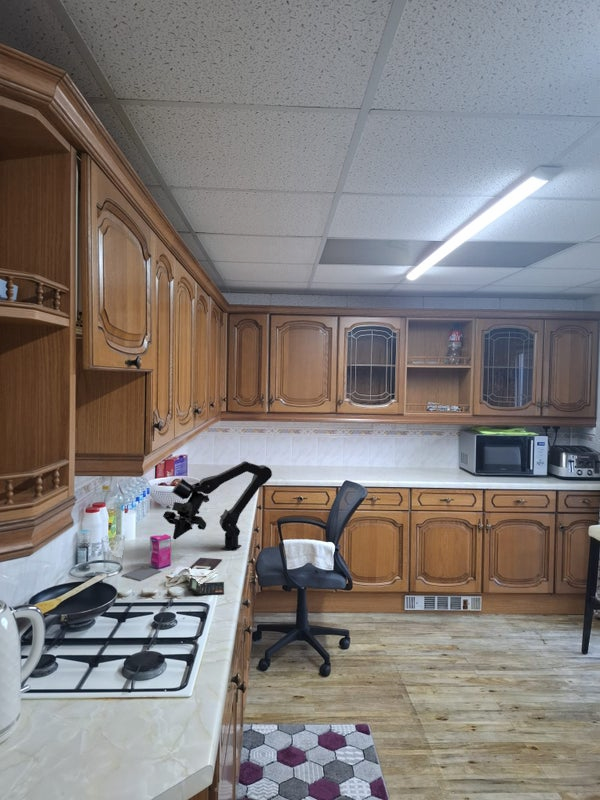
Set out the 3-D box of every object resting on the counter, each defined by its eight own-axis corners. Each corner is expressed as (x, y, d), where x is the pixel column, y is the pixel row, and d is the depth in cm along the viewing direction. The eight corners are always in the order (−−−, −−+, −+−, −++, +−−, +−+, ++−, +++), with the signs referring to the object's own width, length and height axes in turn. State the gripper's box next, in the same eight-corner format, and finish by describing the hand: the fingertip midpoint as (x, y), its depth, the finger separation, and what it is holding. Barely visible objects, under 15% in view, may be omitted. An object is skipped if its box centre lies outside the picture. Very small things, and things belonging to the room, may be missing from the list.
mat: (142, 567, 182) (142, 566, 182) (160, 571, 178) (160, 570, 178) (121, 576, 174) (121, 574, 174) (140, 580, 169) (140, 579, 169)
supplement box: (149, 566, 184) (149, 536, 184) (162, 562, 189) (162, 532, 188) (157, 569, 180) (158, 539, 180) (171, 565, 185) (171, 535, 185)
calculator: (223, 595, 159) (224, 586, 159) (187, 597, 158) (187, 587, 158) (223, 584, 169) (224, 575, 169) (189, 585, 167) (189, 577, 167)
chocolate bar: (222, 559, 192) (206, 576, 174) (222, 561, 192) (206, 578, 174) (200, 557, 193) (182, 574, 175) (200, 560, 193) (182, 576, 175)
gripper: (166, 491, 200) (146, 524, 190) (202, 496, 191) (182, 531, 182) (179, 506, 207) (160, 539, 198) (214, 512, 198) (196, 546, 189)
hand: (174, 538), depth 191 cm, fingers closed
